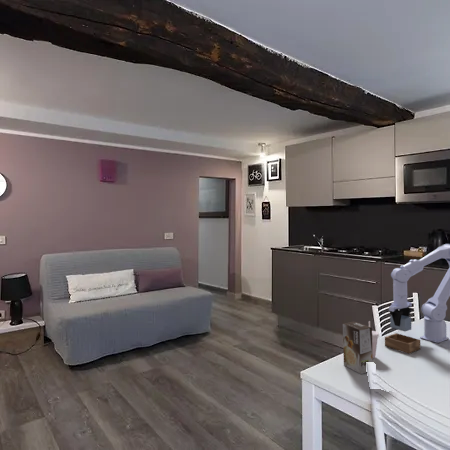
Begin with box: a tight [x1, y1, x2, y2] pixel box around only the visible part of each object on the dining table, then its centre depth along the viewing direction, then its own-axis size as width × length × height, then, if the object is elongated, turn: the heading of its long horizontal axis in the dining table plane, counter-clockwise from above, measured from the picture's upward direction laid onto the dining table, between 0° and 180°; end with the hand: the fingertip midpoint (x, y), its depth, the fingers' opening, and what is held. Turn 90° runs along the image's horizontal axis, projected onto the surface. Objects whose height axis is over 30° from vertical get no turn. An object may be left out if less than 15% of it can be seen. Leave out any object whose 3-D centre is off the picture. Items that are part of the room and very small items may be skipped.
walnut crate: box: [384, 332, 421, 355], centre depth 149 cm, size 9×11×4 cm
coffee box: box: [342, 321, 374, 375], centre depth 131 cm, size 9×6×16 cm
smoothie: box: [368, 320, 380, 359], centre depth 141 cm, size 6×6×14 cm
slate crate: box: [389, 314, 412, 332], centre depth 160 cm, size 5×7×6 cm
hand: (400, 324), depth 160 cm, fingers closed on slate crate, 5 cm apart
